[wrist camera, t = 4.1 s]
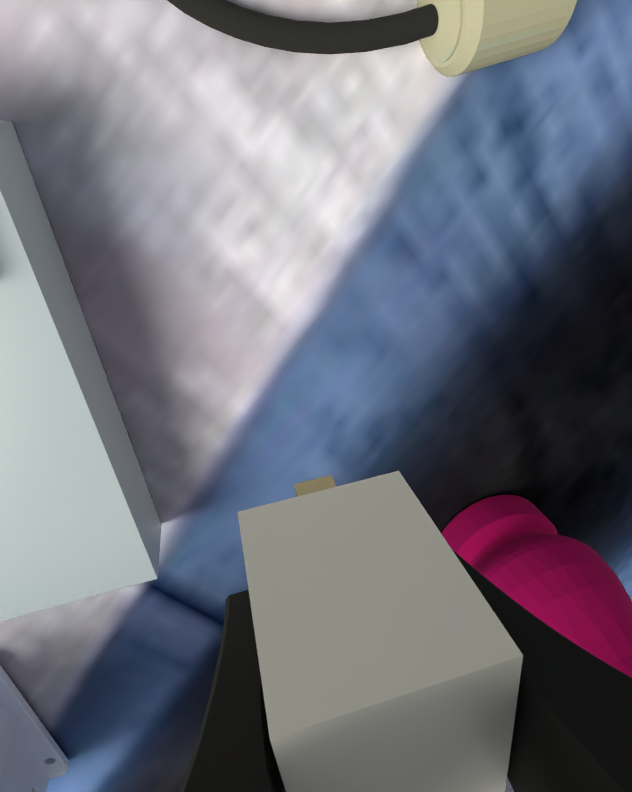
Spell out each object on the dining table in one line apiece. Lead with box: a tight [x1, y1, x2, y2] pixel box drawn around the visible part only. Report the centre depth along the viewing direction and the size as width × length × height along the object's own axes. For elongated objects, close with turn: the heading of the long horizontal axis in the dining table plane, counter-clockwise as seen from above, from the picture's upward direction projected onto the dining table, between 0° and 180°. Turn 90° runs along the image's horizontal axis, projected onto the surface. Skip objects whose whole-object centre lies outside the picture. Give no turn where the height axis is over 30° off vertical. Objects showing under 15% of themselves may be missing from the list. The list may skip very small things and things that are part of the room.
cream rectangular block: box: [238, 471, 523, 792], centre depth 11 cm, size 5×4×6 cm
